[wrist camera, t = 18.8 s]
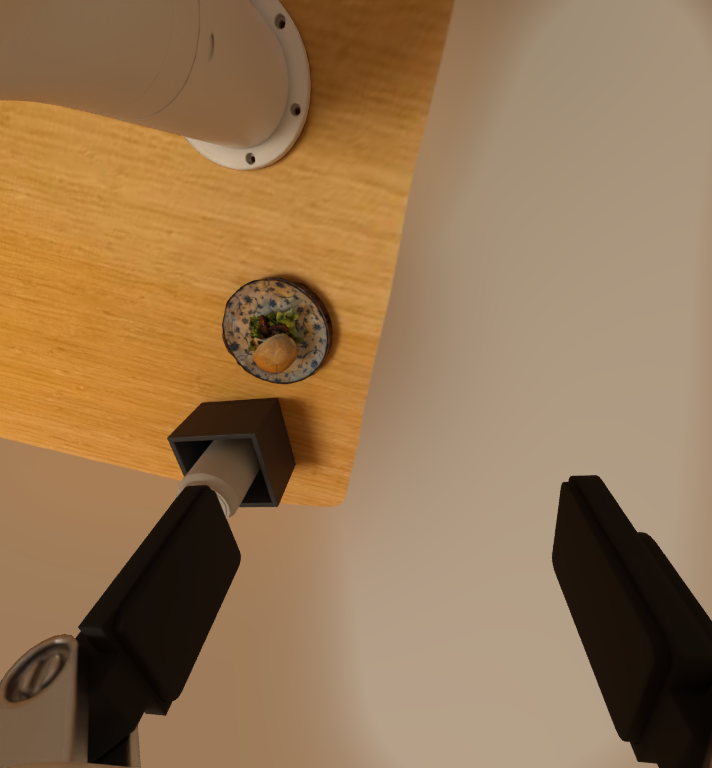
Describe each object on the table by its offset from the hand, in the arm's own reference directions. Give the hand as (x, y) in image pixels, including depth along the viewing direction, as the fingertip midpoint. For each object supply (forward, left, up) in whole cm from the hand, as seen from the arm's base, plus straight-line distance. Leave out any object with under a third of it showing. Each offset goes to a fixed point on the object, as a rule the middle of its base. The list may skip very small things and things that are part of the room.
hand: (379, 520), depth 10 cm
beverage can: (+17, -21, -30) cm, 40 cm away
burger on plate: (+4, -14, -31) cm, 34 cm away
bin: (+17, -21, -30) cm, 41 cm away
